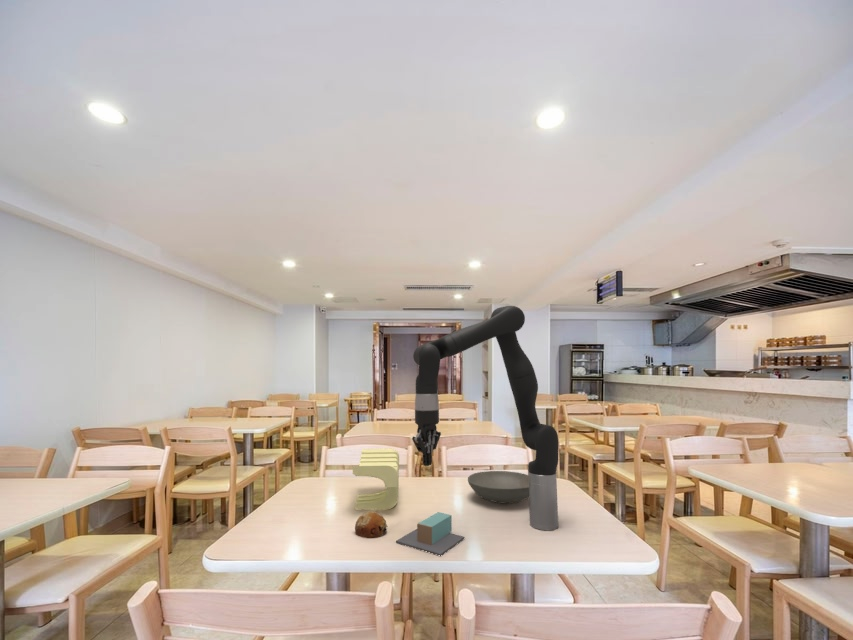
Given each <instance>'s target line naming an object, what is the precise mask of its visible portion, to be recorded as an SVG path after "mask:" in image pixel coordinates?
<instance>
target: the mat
mask: <svg viewBox="0 0 853 640" xmlns="http://www.w3.org/2000/svg"><path fill="white" fill-rule="evenodd" d="M464 538H465V539H466V537H465V536H463V535H459V534H456V533H451V532H450V533H449V534H447V535H446V536H444V537H443V538H441V539H440V540H438V541H437V542H435V543H434V544H432V545H429V544H425V543H422V542H418V541H417V528H416V529H414V530H412V531H410V532H409V533H407V534H405V535H403V536H402V537H400V538H399V539H396V540H395V543H396V544H398V543H399V544H398V545H403V546H405V545H406V546H405V547H408V546H409V547H408V548H411V547H413V548H412V549H415V548H416V549H415V550H418V549H420V550H419V551H421V550H424V551H423V552H425V551H427V552H426V553H428V552H430V553H429V554H431V553H433V554H432V555H435V554H437V555H436V556H438V555H440V556H439V557H442V556H444V553H445V552H446V553H448V552H449V551H450V550H451V548H452V547H453V548H454V547H456V546H457V545H458V544H460V543H461V542H463V541H464V540H465V539H464ZM463 539H464V540H463ZM460 541H461V542H460ZM459 542H460V543H459ZM457 543H458V544H457ZM456 544H457V545H456ZM455 545H456V546H455ZM453 548H452V549H453ZM449 549H450V550H449ZM448 550H449V551H448ZM446 553H445V554H446ZM441 555H442V556H441Z"/></svg>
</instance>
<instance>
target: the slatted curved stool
mask: <svg viewBox="0 0 853 640" xmlns="http://www.w3.org/2000/svg"><path fill="white" fill-rule="evenodd" d="M358 464H359V465H352V475H353V476H355V477H369V478H376V479H378V480H381V481H382V482H383V484H384V487H385V488H386V489H384V490H383V491H380V492H375V493H366V494H365V493H364V494H358V496H357V499H356V502H355V508H354V510H355V509H375V510H390V509H393V508H394V507H395V506H396V505H397V503H398V500H399V490H400V487H399V478H400V475H399V474H400V473H399V471H400V453H398V451H397V450H396V449H394V448H362V449H361V454H360V460H359V463H358Z"/></svg>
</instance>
